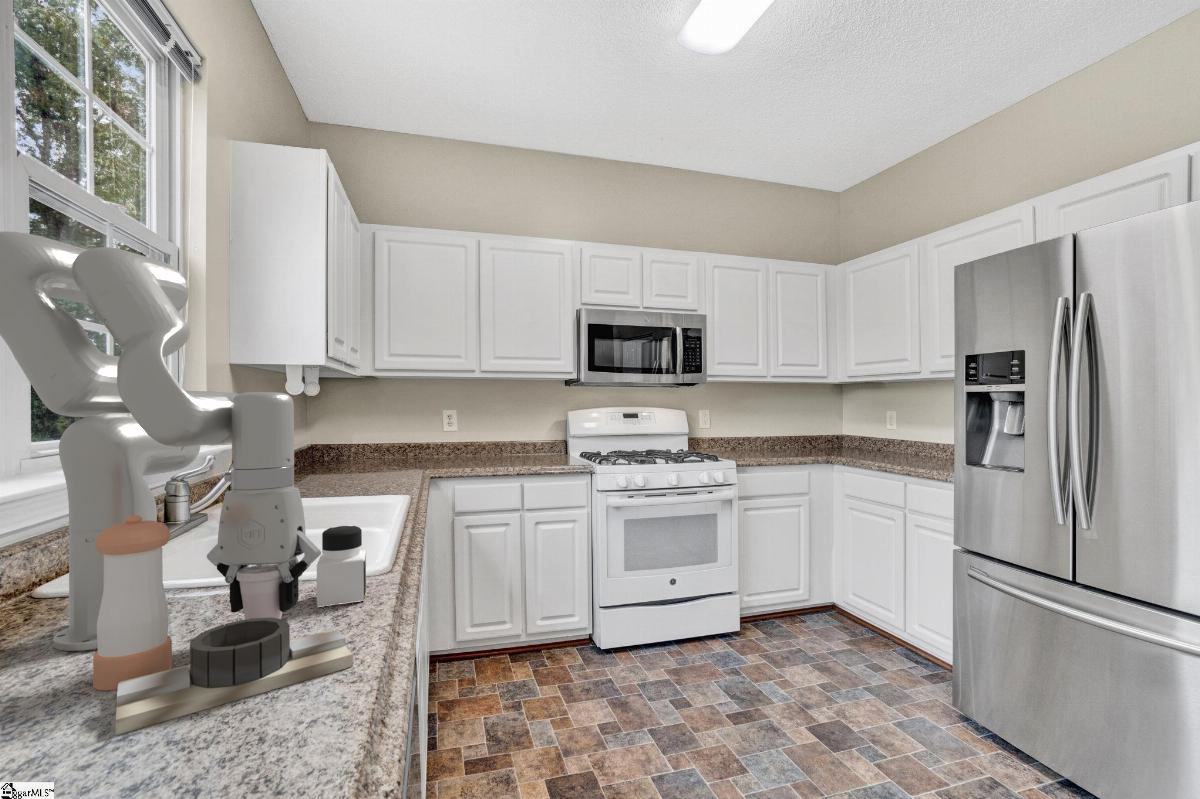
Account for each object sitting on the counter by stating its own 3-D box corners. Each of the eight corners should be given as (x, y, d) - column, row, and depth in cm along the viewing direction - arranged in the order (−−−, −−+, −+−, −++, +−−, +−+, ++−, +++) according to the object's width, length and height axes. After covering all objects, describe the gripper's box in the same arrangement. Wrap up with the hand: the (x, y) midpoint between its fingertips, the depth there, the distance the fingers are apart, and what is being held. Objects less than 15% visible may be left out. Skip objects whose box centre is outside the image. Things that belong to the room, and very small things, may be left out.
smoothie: (243, 632, 79) (242, 534, 80) (293, 625, 82) (292, 530, 82) (231, 650, 73) (230, 544, 74) (286, 642, 76) (284, 539, 76)
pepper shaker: (163, 656, 72) (163, 508, 72) (179, 673, 67) (179, 514, 67) (87, 678, 66) (87, 517, 66) (99, 697, 61) (99, 524, 62)
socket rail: (115, 735, 54) (115, 678, 54) (118, 695, 62) (118, 646, 62) (352, 666, 68) (352, 621, 68) (331, 640, 76) (331, 600, 76)
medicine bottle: (365, 602, 91) (364, 529, 91) (316, 608, 89) (316, 533, 89) (366, 589, 98) (365, 521, 98) (321, 595, 95) (320, 525, 95)
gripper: (182, 484, 74) (182, 619, 74) (310, 482, 74) (311, 617, 74) (221, 477, 82) (221, 600, 81) (337, 475, 82) (338, 598, 81)
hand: (264, 607), depth 78 cm, fingers closed on smoothie, 6 cm apart
